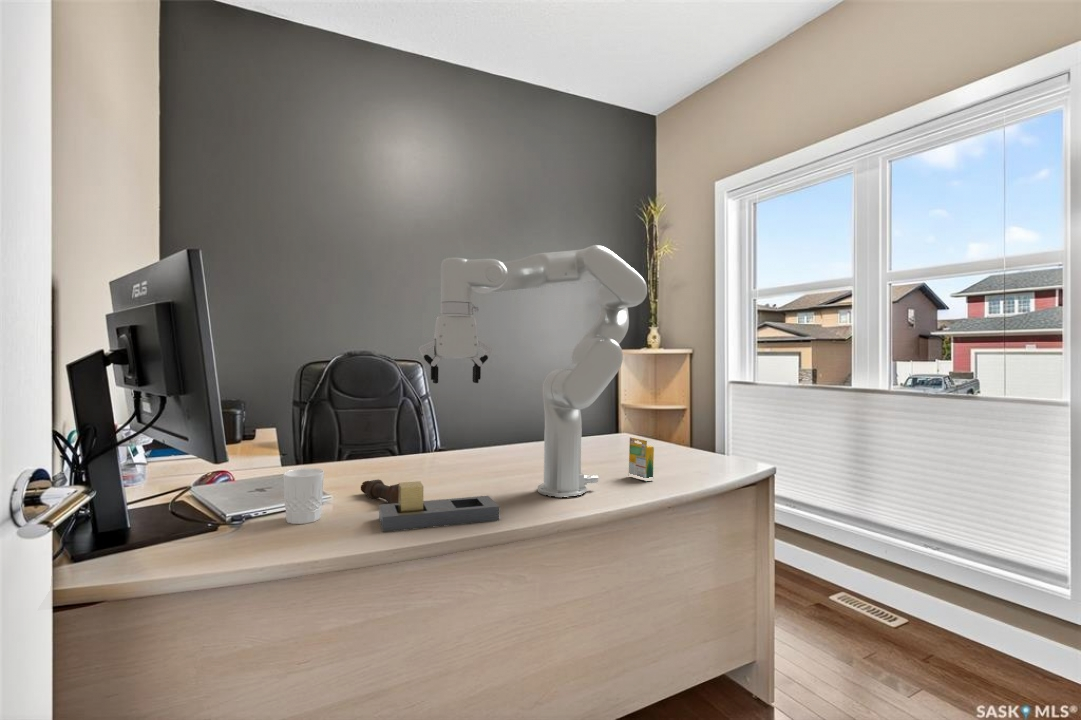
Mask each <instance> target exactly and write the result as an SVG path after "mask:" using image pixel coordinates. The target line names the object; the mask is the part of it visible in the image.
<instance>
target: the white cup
mask: <svg viewBox="0 0 1081 720" xmlns="http://www.w3.org/2000/svg"><path fill="white" fill-rule="evenodd" d="M324 475H325V470H324V469H321V468H313V467H312V468H311V467H308V468H307V467H305V468H295V469H291V470H287V471H285V472H283V475H282V476H283V477H282V478H283V479H282V480H283V496H284V498H283V499H284V508H285V521H286V522H287V523H288V524H291V525H304V524H311V523H314V522H316V521H319V520H320V519H321V517H322V505H323V495H324V479H325V476H324Z"/></svg>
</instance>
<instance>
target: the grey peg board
mask: <svg viewBox="0 0 1081 720" xmlns="http://www.w3.org/2000/svg"><path fill="white" fill-rule="evenodd" d="M378 507H379V508H378V520H379V523H380V527H381V531H382V530H383V531H382V533H386V532H385V531H389V532H395V531H394V530H399V531H405V530H404V529H409V530H414V529H413V528H419V529H425V528H424V527H429V528H434V527H433V526H439V527H445V526H444V525H449V526H457V525H459V526H460V525H465V524H466V525H468V524H478V523H485V522H496V521H497V520H498V521H500V505H499V504H498V503H497V502H495V501H494V500H493V498H491V496H490V495H480V496H479V495H478V496H468V497H457V498H456V497H455V498H444V499H429V500H423V511H420V512H409V513H398V503H394V504H388V503H383V504H379V506H378Z"/></svg>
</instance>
